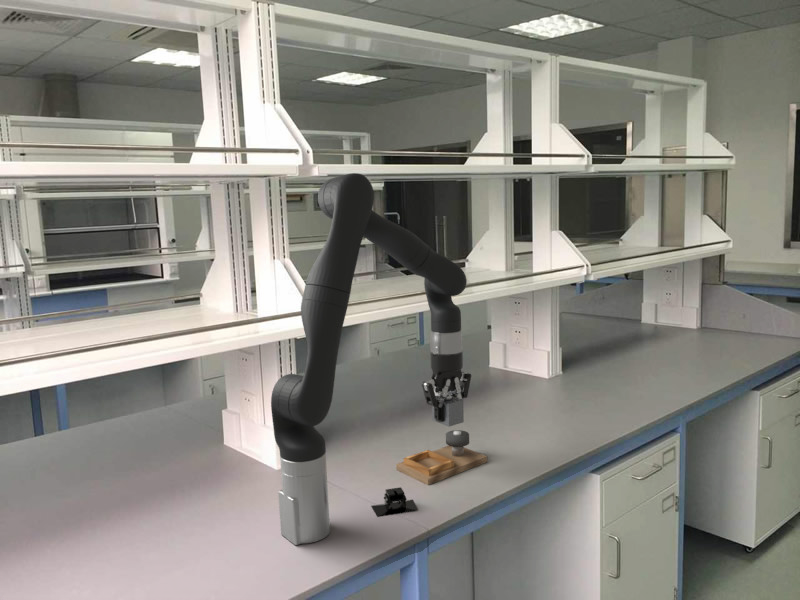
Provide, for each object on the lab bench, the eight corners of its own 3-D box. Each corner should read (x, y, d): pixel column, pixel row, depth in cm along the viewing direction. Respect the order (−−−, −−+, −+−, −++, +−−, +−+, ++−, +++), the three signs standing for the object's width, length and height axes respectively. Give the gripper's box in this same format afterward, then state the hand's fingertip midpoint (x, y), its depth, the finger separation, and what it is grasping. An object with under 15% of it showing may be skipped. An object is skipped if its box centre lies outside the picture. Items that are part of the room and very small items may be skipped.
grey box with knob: (449, 426, 154) (448, 399, 153) (432, 420, 159) (431, 394, 158) (463, 422, 157) (463, 395, 156) (446, 416, 162) (446, 390, 160)
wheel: (457, 448, 166) (456, 438, 166) (441, 442, 171) (440, 432, 170) (474, 442, 170) (474, 432, 169) (457, 436, 174) (457, 426, 174)
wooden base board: (428, 485, 157) (427, 467, 156) (396, 469, 166) (396, 452, 165) (486, 461, 169) (486, 445, 168) (454, 448, 178) (454, 432, 178)
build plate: (371, 522, 141) (370, 502, 140) (364, 506, 148) (363, 487, 147) (427, 513, 144) (426, 494, 143) (417, 498, 151) (417, 480, 150)
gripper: (458, 342, 162) (459, 408, 165) (412, 351, 154) (414, 421, 156) (479, 346, 156) (480, 416, 159) (433, 357, 148) (435, 430, 150)
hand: (447, 418), depth 158 cm, fingers closed on grey box with knob, 4 cm apart
